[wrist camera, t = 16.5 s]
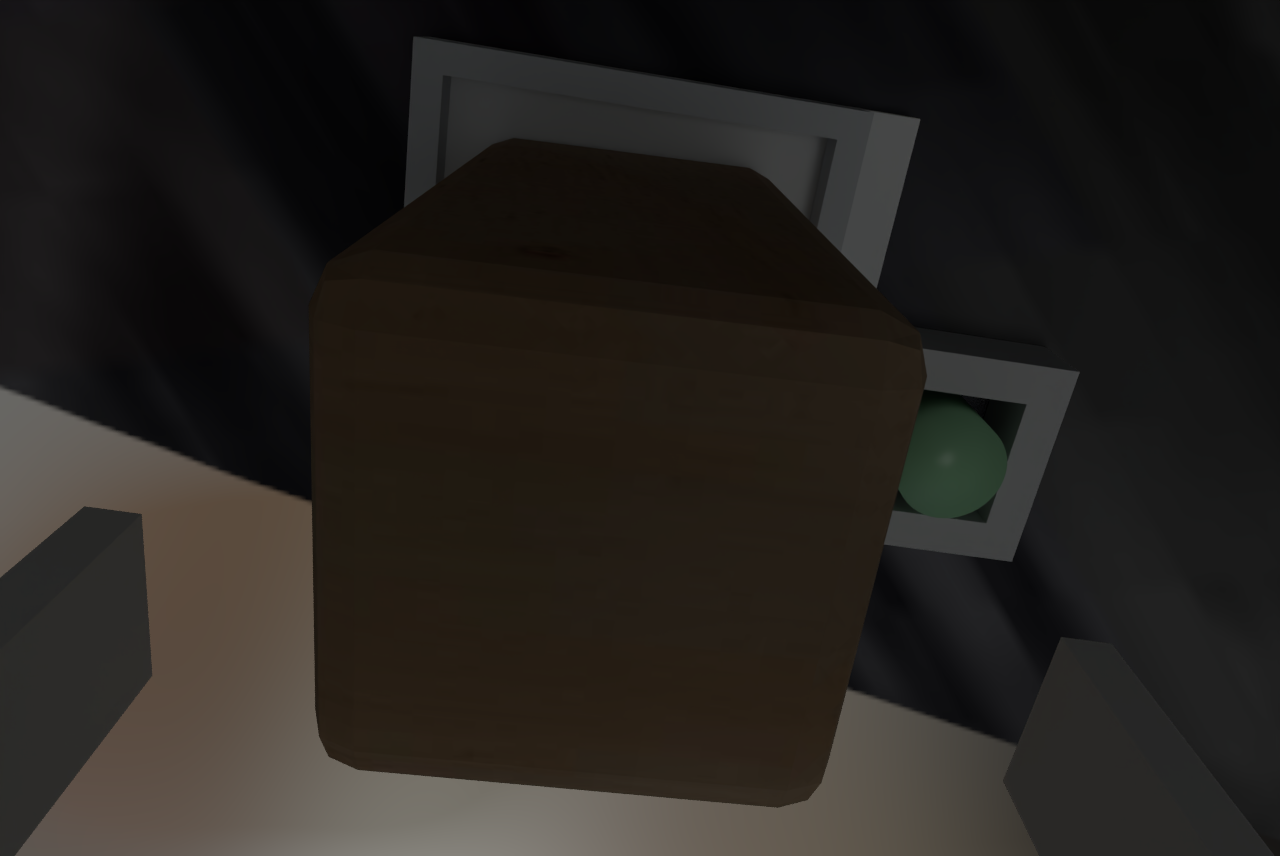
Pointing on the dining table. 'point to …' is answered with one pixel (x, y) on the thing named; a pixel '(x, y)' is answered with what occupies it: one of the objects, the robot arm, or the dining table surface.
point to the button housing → (1017, 412)
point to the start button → (951, 458)
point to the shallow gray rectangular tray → (663, 132)
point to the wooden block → (599, 479)
